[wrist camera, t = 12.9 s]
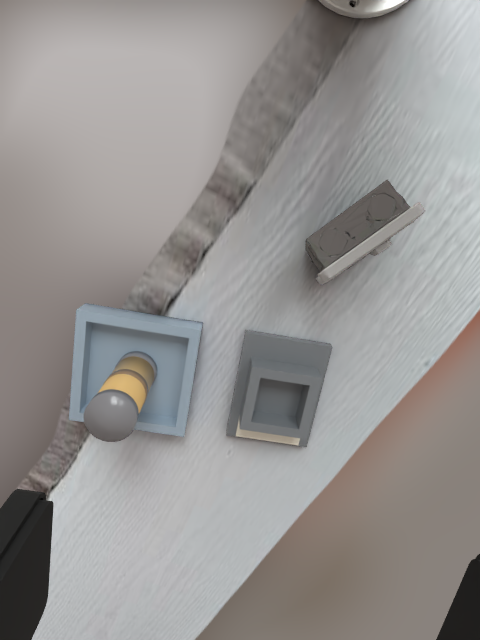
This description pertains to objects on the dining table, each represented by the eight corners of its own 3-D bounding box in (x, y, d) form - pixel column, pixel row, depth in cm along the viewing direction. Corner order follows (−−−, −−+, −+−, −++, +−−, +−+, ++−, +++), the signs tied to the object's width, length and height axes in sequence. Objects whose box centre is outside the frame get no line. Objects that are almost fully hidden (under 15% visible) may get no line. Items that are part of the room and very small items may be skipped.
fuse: (119, 348, 42) (85, 392, 33) (159, 354, 42) (138, 400, 33) (115, 384, 43) (81, 437, 34) (154, 390, 44) (132, 445, 34)
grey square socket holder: (245, 329, 42) (246, 341, 39) (330, 343, 43) (338, 356, 40) (226, 430, 46) (225, 448, 42) (304, 442, 46) (310, 461, 43)
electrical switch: (319, 285, 41) (336, 300, 32) (289, 243, 40) (298, 246, 31) (399, 228, 40) (441, 227, 31) (370, 184, 39) (404, 169, 30)
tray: (85, 303, 41) (76, 309, 39) (202, 322, 42) (200, 330, 40) (77, 407, 45) (69, 419, 42) (186, 424, 45) (184, 436, 43)
